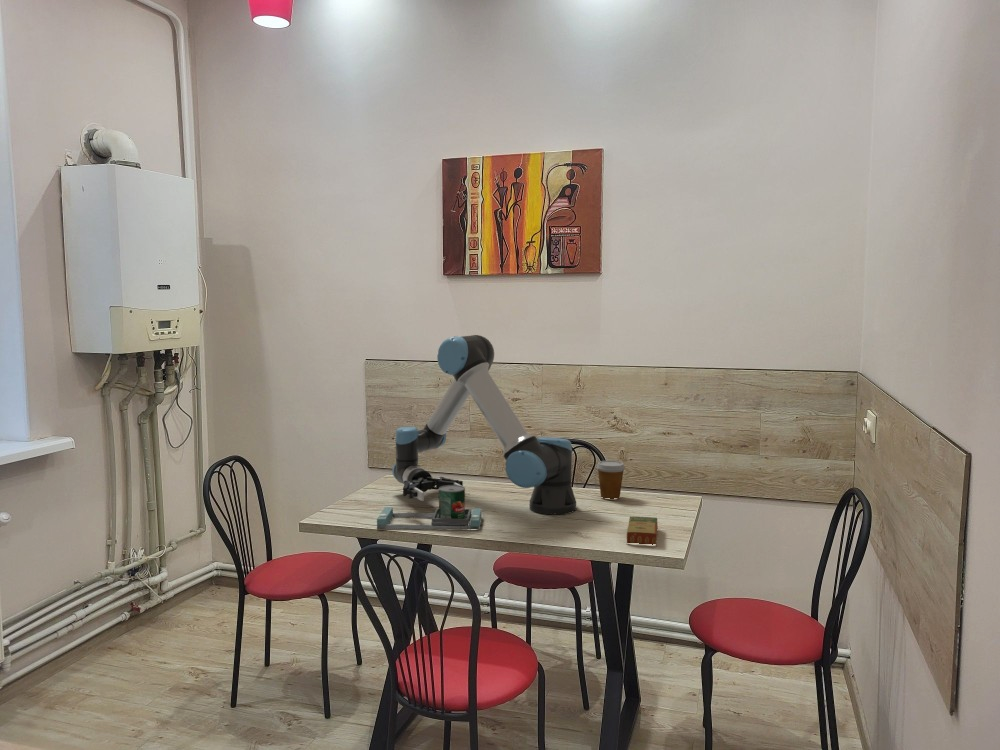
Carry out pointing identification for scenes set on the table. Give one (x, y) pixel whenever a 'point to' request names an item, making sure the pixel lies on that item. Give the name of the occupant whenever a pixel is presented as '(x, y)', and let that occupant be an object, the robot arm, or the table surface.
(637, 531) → the carton
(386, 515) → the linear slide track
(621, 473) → the disposable coffee cup
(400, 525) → the rail
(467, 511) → the carriage
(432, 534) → the table surface
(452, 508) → the canned tomato
